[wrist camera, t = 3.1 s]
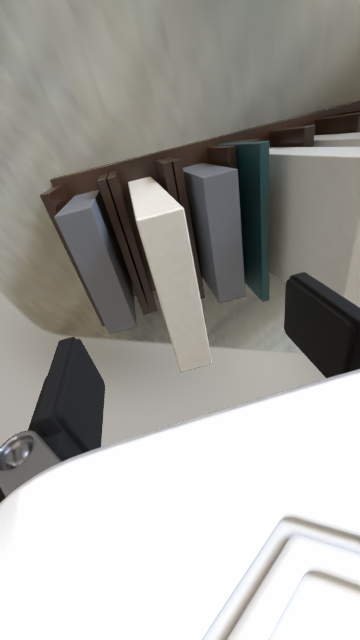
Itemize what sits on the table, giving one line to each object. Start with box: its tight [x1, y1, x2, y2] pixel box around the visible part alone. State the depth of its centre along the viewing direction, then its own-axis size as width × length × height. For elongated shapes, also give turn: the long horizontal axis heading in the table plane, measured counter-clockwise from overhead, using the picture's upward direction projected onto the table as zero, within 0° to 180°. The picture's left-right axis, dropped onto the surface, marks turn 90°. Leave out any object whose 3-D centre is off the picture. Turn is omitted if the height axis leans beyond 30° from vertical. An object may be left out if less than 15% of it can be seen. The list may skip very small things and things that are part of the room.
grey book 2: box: [183, 163, 245, 303], centre depth 21 cm, size 2×9×8 cm, turn 12°
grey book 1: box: [54, 190, 136, 334], centre depth 21 cm, size 2×9×8 cm, turn 12°
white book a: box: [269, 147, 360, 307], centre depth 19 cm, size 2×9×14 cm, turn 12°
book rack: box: [40, 101, 360, 326], centre depth 22 cm, size 30×12×9 cm, turn 102°
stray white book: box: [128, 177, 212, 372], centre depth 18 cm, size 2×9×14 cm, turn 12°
